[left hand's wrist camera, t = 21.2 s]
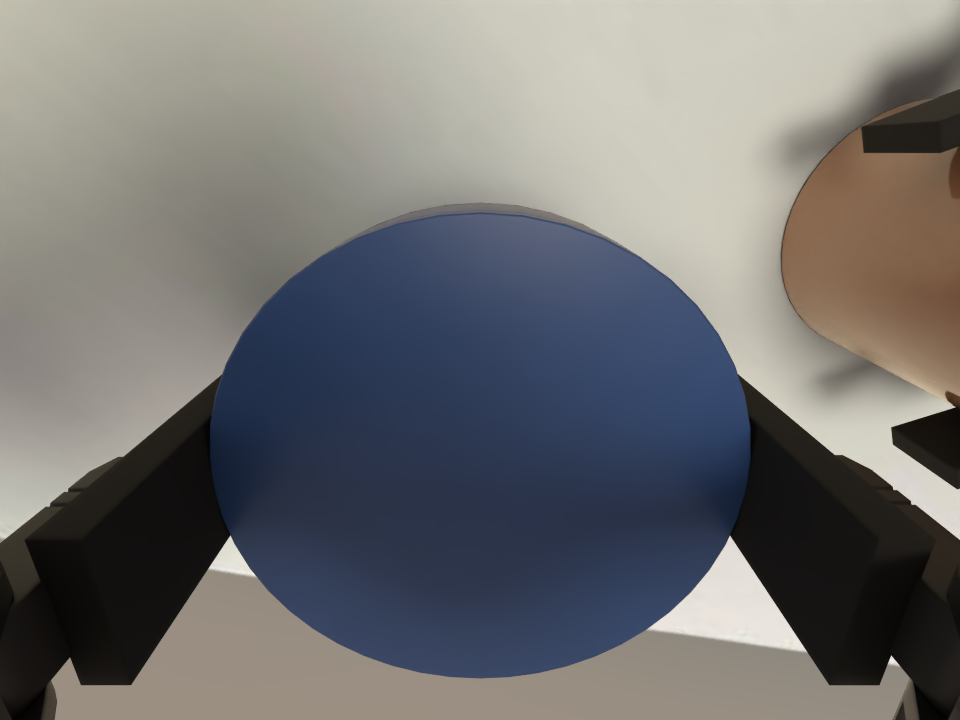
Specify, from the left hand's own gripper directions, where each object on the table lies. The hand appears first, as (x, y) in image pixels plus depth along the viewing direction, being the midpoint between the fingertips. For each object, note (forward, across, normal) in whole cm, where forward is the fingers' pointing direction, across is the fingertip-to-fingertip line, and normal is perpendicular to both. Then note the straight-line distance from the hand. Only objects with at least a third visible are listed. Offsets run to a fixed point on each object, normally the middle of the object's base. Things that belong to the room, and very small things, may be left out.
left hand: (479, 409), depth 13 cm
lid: (-3, 0, 0) cm, 3 cm away
